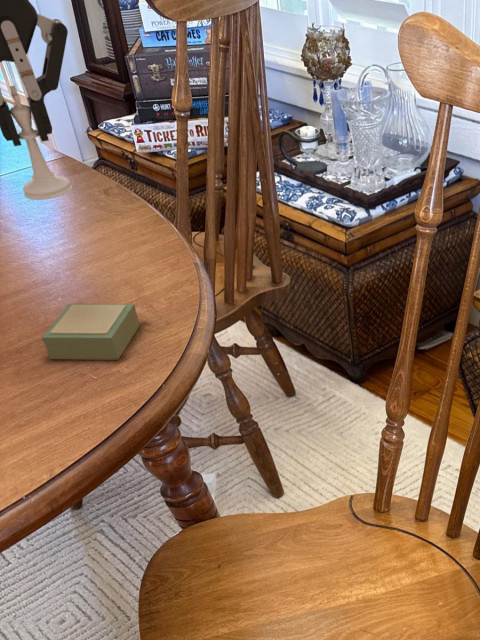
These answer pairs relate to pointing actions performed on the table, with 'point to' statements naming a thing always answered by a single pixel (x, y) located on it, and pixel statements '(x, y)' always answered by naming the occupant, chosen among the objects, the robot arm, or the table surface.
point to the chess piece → (36, 158)
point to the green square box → (92, 331)
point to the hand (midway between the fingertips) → (30, 140)
